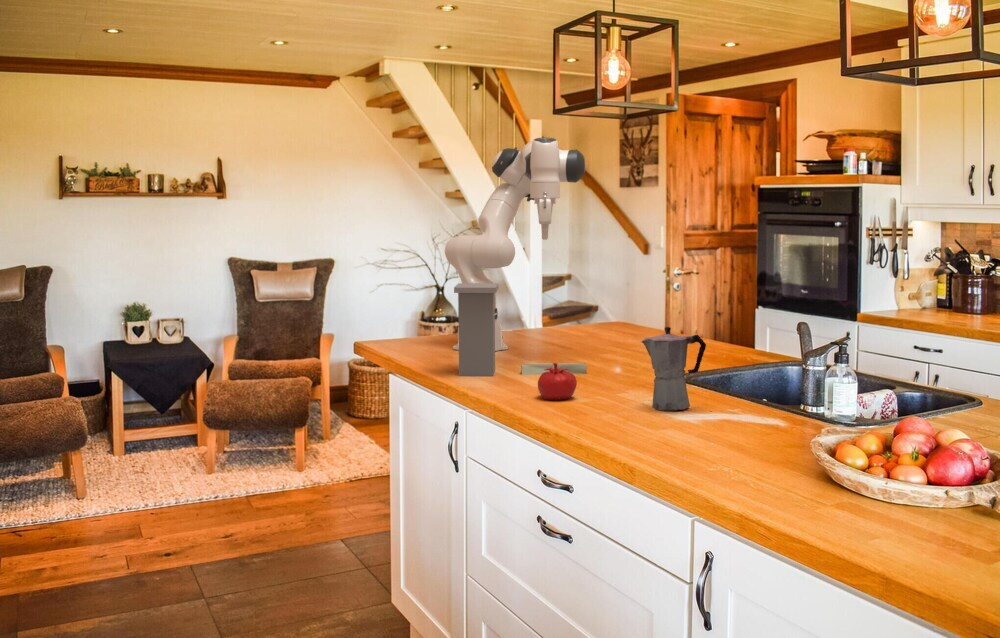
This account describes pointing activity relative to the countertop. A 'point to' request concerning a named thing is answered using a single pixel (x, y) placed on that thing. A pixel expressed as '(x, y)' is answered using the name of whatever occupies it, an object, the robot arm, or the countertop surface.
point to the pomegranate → (557, 384)
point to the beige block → (540, 368)
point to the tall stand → (476, 328)
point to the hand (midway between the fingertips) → (544, 238)
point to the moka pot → (671, 368)
